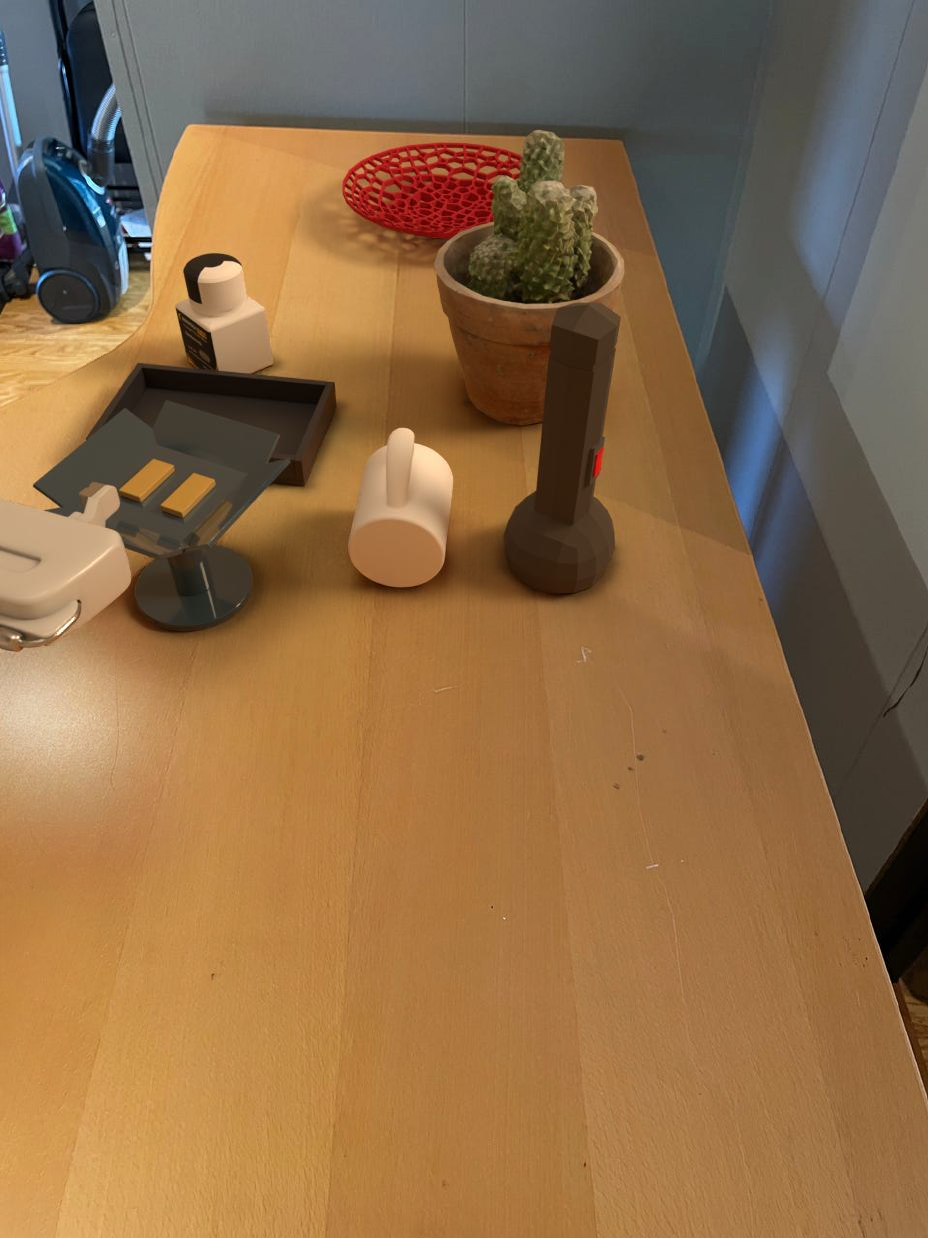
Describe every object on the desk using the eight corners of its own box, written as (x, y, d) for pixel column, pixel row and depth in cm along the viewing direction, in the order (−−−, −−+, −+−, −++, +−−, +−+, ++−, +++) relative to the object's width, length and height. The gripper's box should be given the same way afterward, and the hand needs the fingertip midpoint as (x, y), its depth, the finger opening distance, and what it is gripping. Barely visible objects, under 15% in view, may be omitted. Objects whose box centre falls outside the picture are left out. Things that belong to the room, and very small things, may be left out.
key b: (183, 518, 71) (181, 512, 71) (161, 511, 72) (159, 505, 71) (216, 485, 74) (214, 479, 74) (195, 478, 75) (193, 472, 74)
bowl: (490, 292, 118) (492, 254, 114) (301, 235, 127) (297, 198, 124) (589, 206, 135) (593, 170, 131) (416, 162, 145) (415, 127, 141)
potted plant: (631, 429, 99) (675, 189, 80) (464, 460, 95) (470, 215, 76) (566, 340, 110) (591, 113, 92) (415, 364, 106) (409, 131, 88)
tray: (93, 463, 93) (85, 438, 91) (144, 387, 102) (137, 362, 100) (304, 486, 91) (301, 460, 89) (337, 406, 101) (334, 381, 98)
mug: (351, 585, 82) (340, 478, 74) (366, 509, 89) (358, 402, 80) (444, 591, 82) (444, 484, 73) (453, 514, 89) (454, 407, 80)
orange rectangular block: (141, 503, 73) (139, 497, 72) (120, 496, 73) (118, 489, 73) (175, 470, 75) (173, 464, 75) (154, 464, 76) (153, 458, 75)
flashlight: (482, 569, 84) (581, 612, 81) (493, 314, 66) (622, 356, 62) (535, 508, 90) (629, 546, 86) (558, 258, 71) (679, 294, 68)
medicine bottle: (186, 361, 106) (163, 259, 97) (240, 339, 109) (222, 239, 100) (220, 388, 102) (199, 285, 94) (275, 364, 106) (259, 263, 97)
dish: (221, 685, 75) (188, 567, 65) (60, 621, 79) (7, 503, 69) (322, 558, 85) (306, 440, 75) (174, 508, 89) (142, 391, 79)
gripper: (18, 614, 47) (175, 470, 56) (-284, 518, 52) (-92, 402, 61) (53, 699, 51) (193, 552, 61) (-229, 603, 56) (-58, 482, 66)
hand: (48, 476), depth 61 cm, fingers open, 8 cm apart
